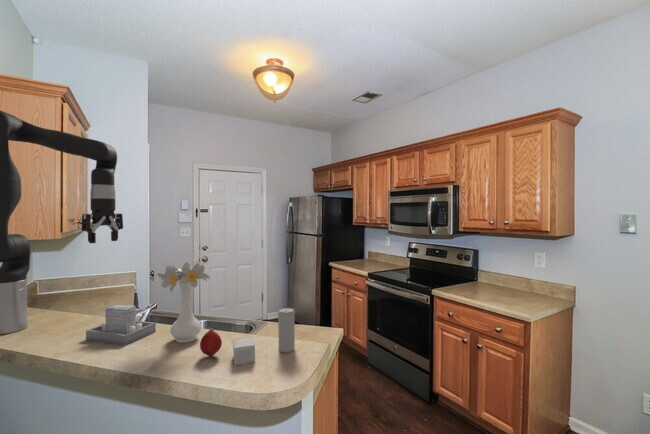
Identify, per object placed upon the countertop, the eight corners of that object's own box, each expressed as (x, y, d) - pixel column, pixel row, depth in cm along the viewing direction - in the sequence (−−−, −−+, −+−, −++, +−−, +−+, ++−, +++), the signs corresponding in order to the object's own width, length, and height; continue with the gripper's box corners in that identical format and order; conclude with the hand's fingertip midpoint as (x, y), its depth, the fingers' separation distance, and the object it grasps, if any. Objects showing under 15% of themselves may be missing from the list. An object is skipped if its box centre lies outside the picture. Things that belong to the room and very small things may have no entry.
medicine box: (136, 331, 109) (136, 305, 108) (126, 336, 104) (126, 309, 104) (116, 329, 110) (116, 304, 110) (105, 334, 106) (105, 308, 105)
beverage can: (297, 347, 98) (297, 308, 98) (290, 354, 93) (290, 313, 93) (282, 345, 99) (282, 307, 99) (275, 352, 95) (275, 311, 95)
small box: (233, 356, 92) (233, 339, 92) (253, 354, 94) (253, 337, 94) (233, 365, 87) (233, 347, 86) (255, 363, 88) (255, 345, 88)
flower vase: (177, 328, 113) (176, 258, 113) (220, 336, 107) (219, 261, 106) (144, 342, 101) (144, 263, 101) (191, 352, 95) (190, 267, 94)
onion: (201, 362, 88) (201, 333, 88) (198, 354, 93) (198, 327, 93) (223, 358, 91) (223, 330, 91) (219, 350, 96) (219, 323, 96)
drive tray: (85, 339, 104) (85, 327, 104) (119, 326, 115) (119, 315, 115) (125, 345, 99) (125, 332, 99) (155, 331, 111) (155, 320, 111)
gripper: (112, 198, 125) (113, 240, 126) (75, 197, 112) (76, 243, 112) (128, 198, 123) (128, 240, 124) (91, 196, 110) (92, 244, 110)
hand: (103, 242), depth 118 cm, fingers open, 8 cm apart
